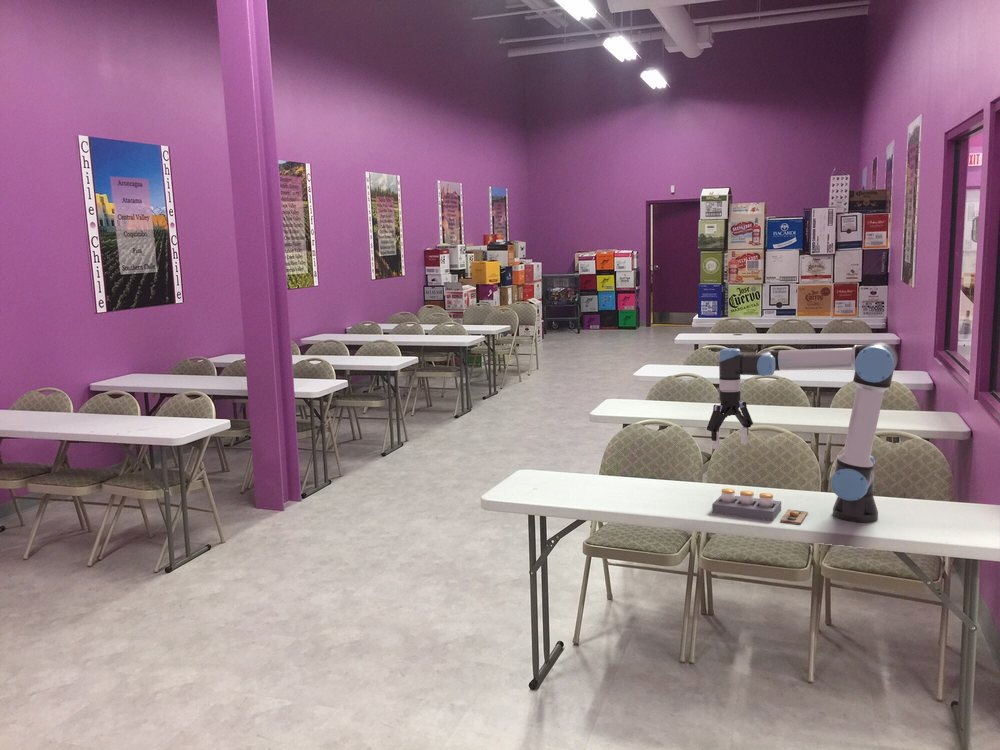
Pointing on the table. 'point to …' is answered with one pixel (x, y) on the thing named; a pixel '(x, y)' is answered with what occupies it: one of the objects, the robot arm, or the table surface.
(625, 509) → the table surface
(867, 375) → the robot arm
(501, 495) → the table surface
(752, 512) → the button board
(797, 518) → the card
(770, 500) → the button
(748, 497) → the button mid
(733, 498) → the button
